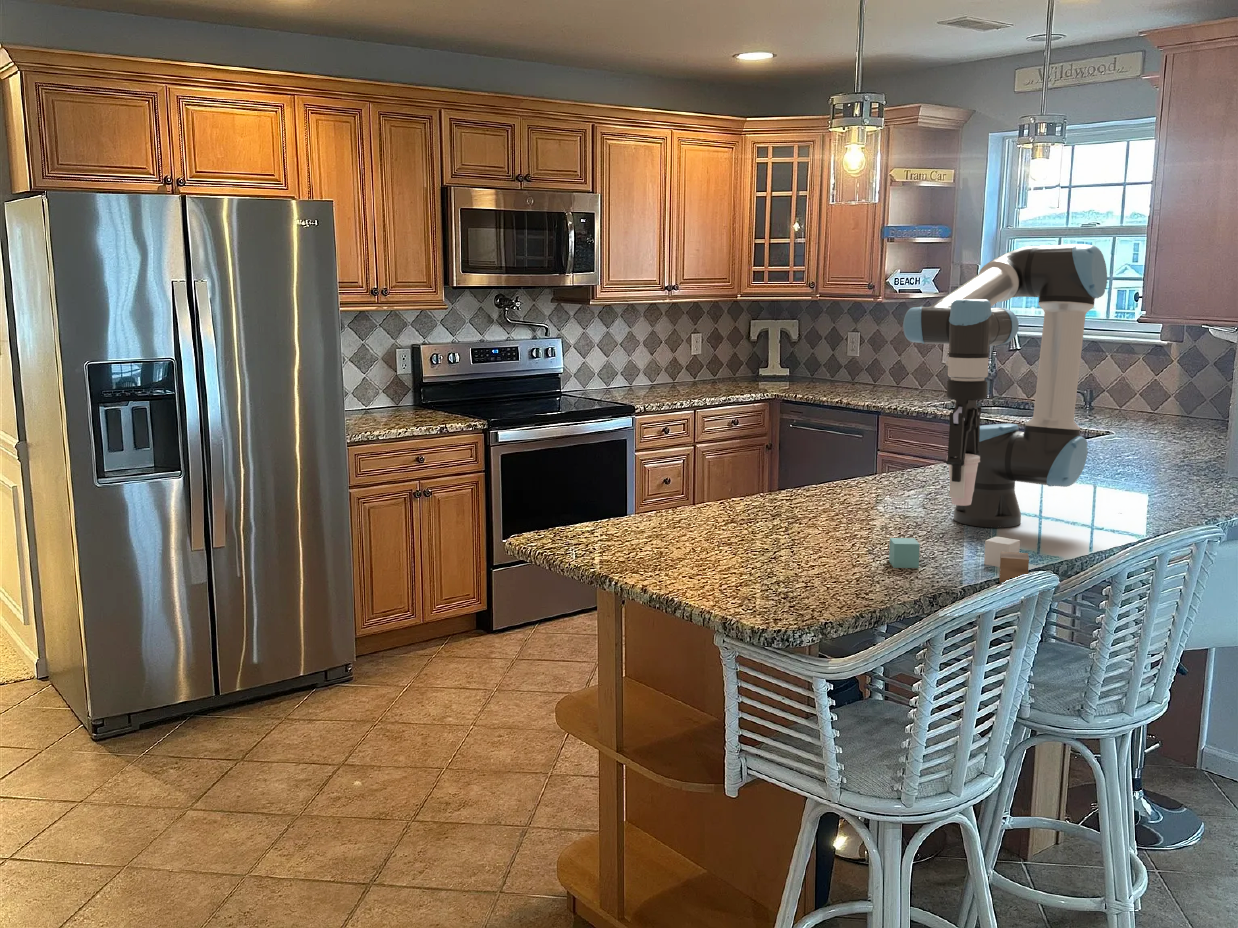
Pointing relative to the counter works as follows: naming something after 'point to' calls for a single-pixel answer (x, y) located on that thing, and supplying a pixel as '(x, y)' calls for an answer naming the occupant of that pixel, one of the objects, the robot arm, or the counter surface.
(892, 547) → the cube teal
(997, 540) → the cube grey
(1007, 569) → the cube walnut
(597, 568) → the counter surface
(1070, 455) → the robot arm
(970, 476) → the smoothie
